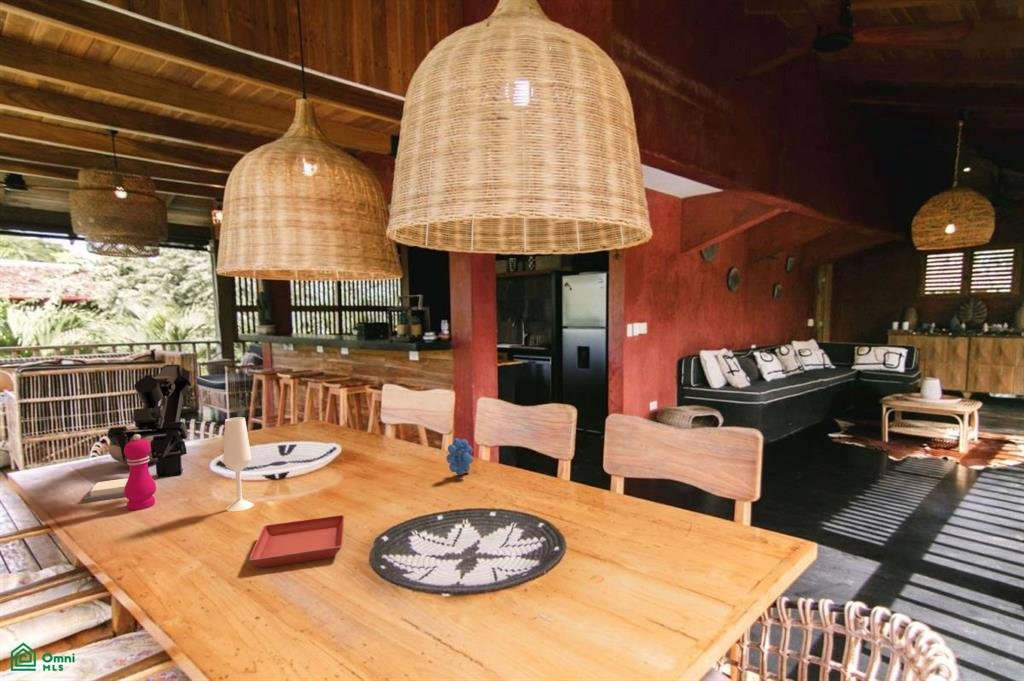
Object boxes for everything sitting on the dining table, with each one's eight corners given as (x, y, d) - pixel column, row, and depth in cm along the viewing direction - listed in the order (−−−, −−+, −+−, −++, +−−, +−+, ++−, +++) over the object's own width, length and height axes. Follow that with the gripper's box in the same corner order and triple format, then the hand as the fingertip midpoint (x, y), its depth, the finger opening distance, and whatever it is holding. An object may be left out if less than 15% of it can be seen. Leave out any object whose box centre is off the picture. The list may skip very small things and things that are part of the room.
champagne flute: (242, 512, 138) (237, 422, 137) (219, 510, 140) (214, 421, 138) (259, 502, 145) (254, 416, 144) (237, 501, 146) (233, 416, 145)
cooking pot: (96, 465, 185) (93, 431, 184) (155, 452, 201) (153, 421, 200) (129, 476, 172) (126, 439, 171) (190, 461, 188) (188, 427, 187)
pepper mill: (144, 510, 141) (140, 437, 140) (118, 511, 141) (113, 437, 140) (163, 501, 148) (158, 430, 147) (138, 501, 148) (133, 431, 147)
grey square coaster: (141, 484, 163) (140, 475, 163) (135, 495, 153) (134, 485, 153) (92, 491, 158) (92, 482, 157) (83, 503, 148) (82, 493, 148)
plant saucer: (248, 575, 106) (248, 559, 106) (264, 538, 123) (263, 524, 123) (343, 561, 111) (342, 545, 111) (345, 527, 128) (344, 514, 128)
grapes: (458, 482, 158) (457, 443, 157) (442, 479, 162) (440, 440, 161) (482, 472, 168) (481, 435, 167) (466, 469, 172) (465, 432, 171)
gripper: (107, 399, 149) (93, 447, 139) (183, 394, 155) (175, 439, 146) (119, 421, 157) (107, 468, 147) (191, 416, 163) (184, 460, 153)
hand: (143, 458), depth 148 cm, fingers open, 9 cm apart
